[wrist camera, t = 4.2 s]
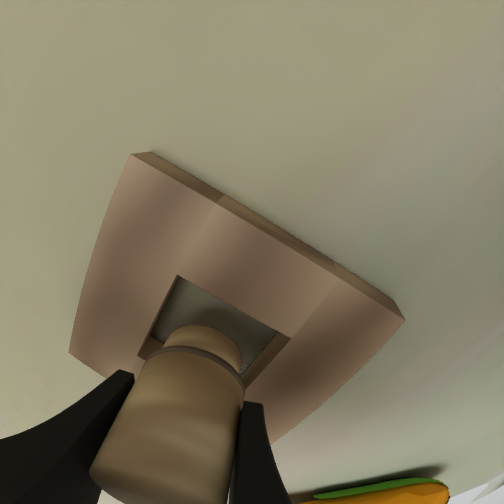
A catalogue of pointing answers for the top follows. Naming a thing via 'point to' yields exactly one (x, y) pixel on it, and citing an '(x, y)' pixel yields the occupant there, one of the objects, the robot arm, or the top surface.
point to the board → (225, 290)
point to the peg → (177, 424)
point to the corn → (389, 493)
